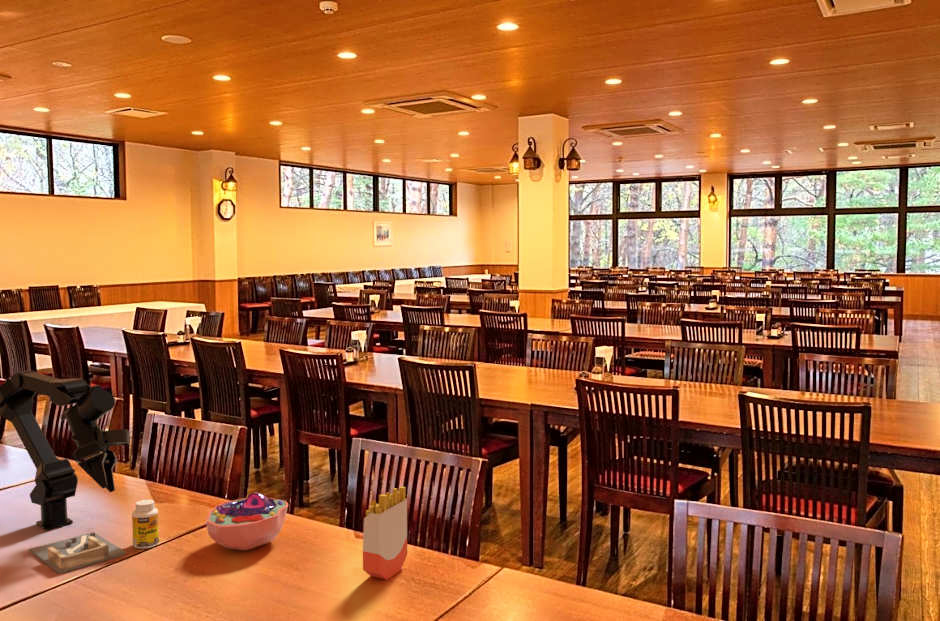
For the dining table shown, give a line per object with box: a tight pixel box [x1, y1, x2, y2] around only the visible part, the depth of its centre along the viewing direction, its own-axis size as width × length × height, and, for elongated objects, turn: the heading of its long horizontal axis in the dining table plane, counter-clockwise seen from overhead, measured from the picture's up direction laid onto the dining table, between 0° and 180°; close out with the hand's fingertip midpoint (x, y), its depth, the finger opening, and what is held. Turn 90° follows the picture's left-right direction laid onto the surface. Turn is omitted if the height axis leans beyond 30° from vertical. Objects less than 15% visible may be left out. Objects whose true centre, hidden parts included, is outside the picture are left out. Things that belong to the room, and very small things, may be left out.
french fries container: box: [362, 486, 408, 581], centre depth 164 cm, size 5×11×18 cm, turn 154°
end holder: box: [48, 536, 109, 570], centre depth 171 cm, size 8×10×2 cm
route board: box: [28, 531, 127, 575], centre depth 175 cm, size 18×14×2 cm
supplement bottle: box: [131, 499, 160, 550], centre depth 179 cm, size 6×6×10 cm
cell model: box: [206, 491, 289, 551], centre depth 179 cm, size 17×20×11 cm
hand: (108, 489), depth 181 cm, fingers open, 9 cm apart
